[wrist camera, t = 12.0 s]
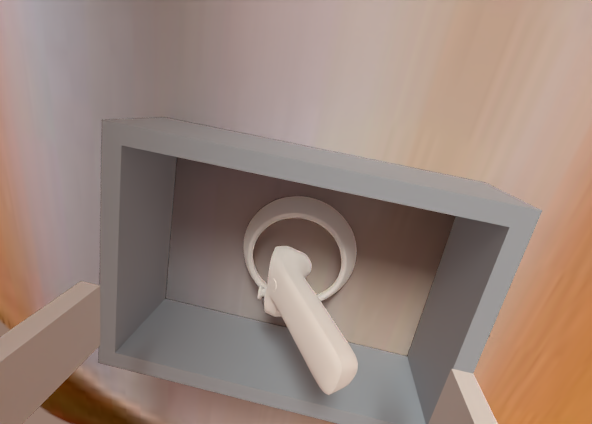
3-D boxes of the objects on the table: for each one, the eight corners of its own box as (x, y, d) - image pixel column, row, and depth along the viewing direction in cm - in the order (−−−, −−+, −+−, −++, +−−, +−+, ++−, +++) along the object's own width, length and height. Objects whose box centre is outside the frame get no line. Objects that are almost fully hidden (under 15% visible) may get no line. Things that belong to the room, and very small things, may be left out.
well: (164, 117, 22) (101, 119, 16) (485, 182, 20) (542, 210, 15) (151, 306, 26) (98, 362, 20) (417, 371, 25) (440, 449, 19)
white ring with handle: (419, 396, 19) (309, 450, 16) (315, 264, 28) (232, 283, 25) (469, 296, 15) (338, 341, 12) (330, 181, 24) (235, 192, 21)
